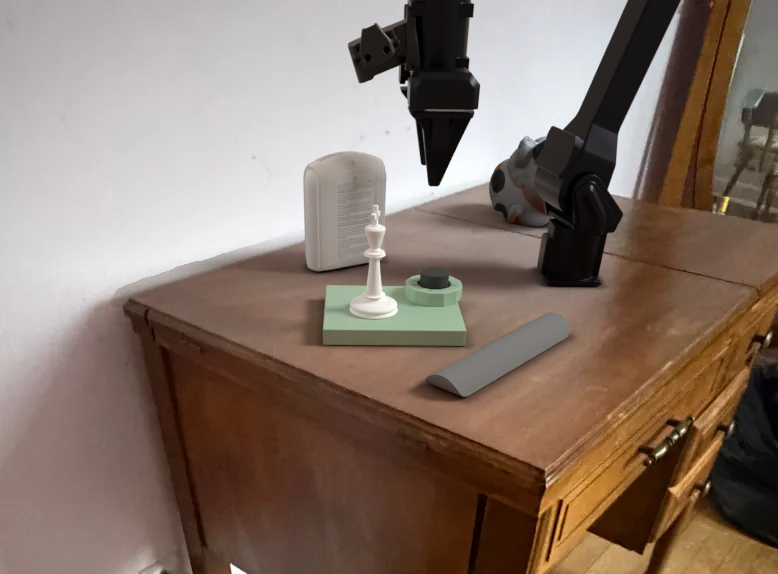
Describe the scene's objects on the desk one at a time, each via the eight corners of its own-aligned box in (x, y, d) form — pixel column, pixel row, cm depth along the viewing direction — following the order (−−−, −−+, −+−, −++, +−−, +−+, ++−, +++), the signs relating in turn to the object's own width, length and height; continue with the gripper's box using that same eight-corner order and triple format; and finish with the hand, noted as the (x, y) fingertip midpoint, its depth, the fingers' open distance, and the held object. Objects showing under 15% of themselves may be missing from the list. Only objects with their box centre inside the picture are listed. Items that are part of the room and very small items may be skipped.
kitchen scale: (455, 300, 80) (458, 273, 78) (469, 346, 71) (472, 316, 69) (326, 299, 80) (326, 272, 78) (323, 345, 70) (322, 315, 69)
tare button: (446, 281, 77) (447, 267, 76) (449, 291, 75) (450, 276, 74) (418, 281, 77) (419, 266, 76) (420, 291, 75) (421, 276, 74)
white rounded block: (370, 252, 93) (372, 144, 85) (389, 261, 90) (392, 151, 82) (300, 265, 88) (295, 153, 80) (318, 275, 85) (314, 160, 78)
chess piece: (403, 304, 75) (408, 201, 68) (389, 322, 71) (393, 215, 65) (358, 298, 76) (359, 196, 70) (342, 315, 72) (341, 209, 66)
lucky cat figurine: (578, 205, 111) (628, 124, 99) (571, 259, 106) (622, 180, 94) (488, 171, 110) (528, 83, 97) (476, 224, 104) (516, 138, 92)
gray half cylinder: (572, 335, 73) (575, 318, 72) (459, 402, 62) (461, 383, 61) (536, 324, 76) (539, 307, 74) (420, 386, 64) (422, 368, 63)
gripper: (352, -17, 73) (352, 154, 82) (353, -10, 58) (353, 197, 68) (461, -15, 73) (448, 156, 83) (490, -7, 58) (470, 198, 68)
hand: (429, 175), depth 75 cm, fingers open, 9 cm apart
